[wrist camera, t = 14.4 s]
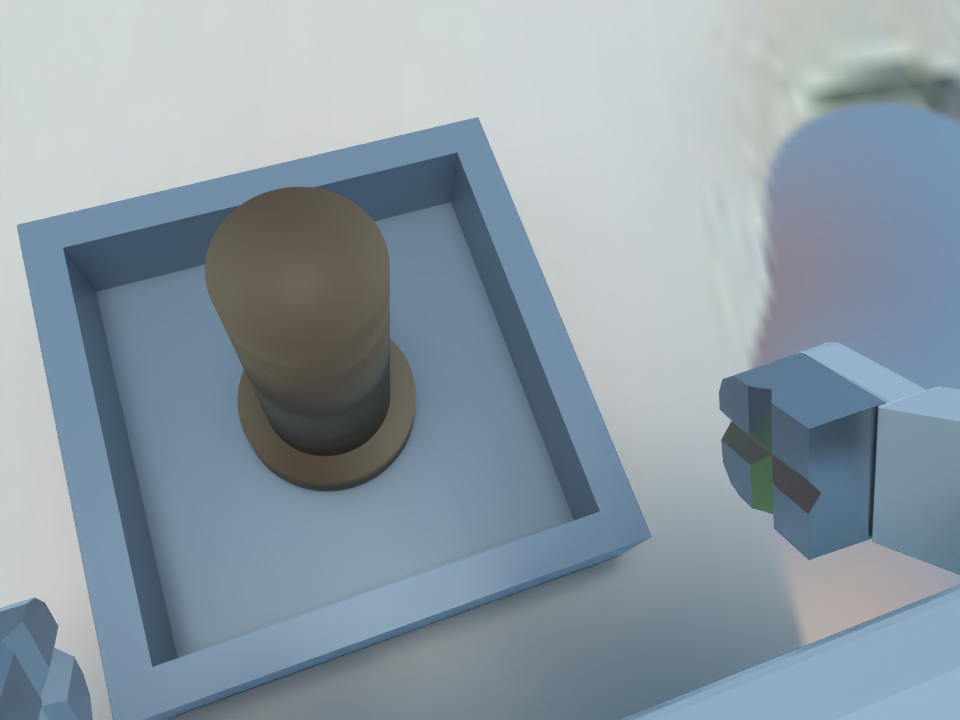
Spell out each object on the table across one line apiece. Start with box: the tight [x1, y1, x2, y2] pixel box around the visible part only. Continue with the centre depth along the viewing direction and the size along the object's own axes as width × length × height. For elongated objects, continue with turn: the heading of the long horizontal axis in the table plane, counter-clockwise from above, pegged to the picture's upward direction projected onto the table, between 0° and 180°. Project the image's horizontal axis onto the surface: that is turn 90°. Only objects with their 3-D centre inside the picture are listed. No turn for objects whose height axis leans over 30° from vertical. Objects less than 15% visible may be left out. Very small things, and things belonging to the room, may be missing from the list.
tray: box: [17, 117, 651, 720], centre depth 23 cm, size 13×13×4 cm
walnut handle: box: [205, 187, 416, 491], centre depth 20 cm, size 5×5×9 cm
